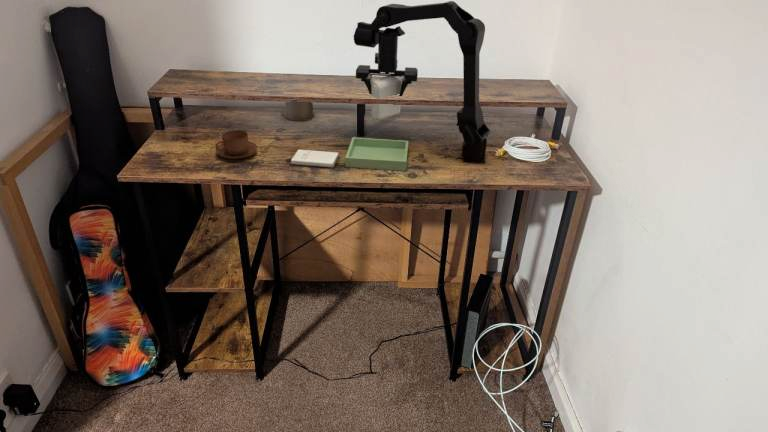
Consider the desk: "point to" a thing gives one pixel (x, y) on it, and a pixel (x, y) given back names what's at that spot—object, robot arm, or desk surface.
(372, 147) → the tray
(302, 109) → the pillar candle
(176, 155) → the desk surface
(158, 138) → the desk surface
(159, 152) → the desk surface
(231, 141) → the cup and saucer
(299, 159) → the hard drive
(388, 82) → the white rounded tower
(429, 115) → the desk surface
